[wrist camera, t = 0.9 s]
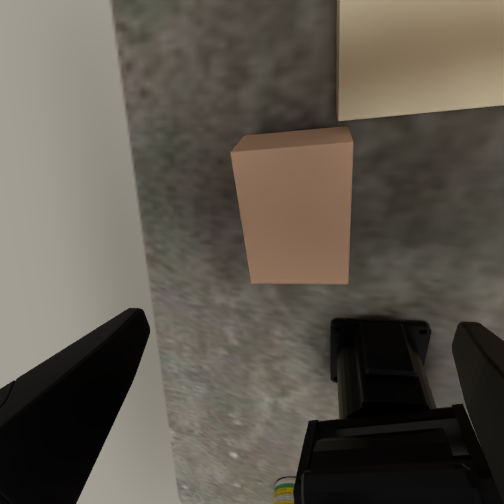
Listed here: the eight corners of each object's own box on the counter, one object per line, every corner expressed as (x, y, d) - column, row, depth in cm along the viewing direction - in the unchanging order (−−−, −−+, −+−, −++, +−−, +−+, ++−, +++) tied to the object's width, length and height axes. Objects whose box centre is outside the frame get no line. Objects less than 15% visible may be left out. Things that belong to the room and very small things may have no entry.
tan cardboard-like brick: (344, 241, 20) (350, 284, 16) (261, 243, 21) (249, 283, 17) (348, 120, 16) (356, 141, 13) (246, 130, 17) (228, 152, 14)
